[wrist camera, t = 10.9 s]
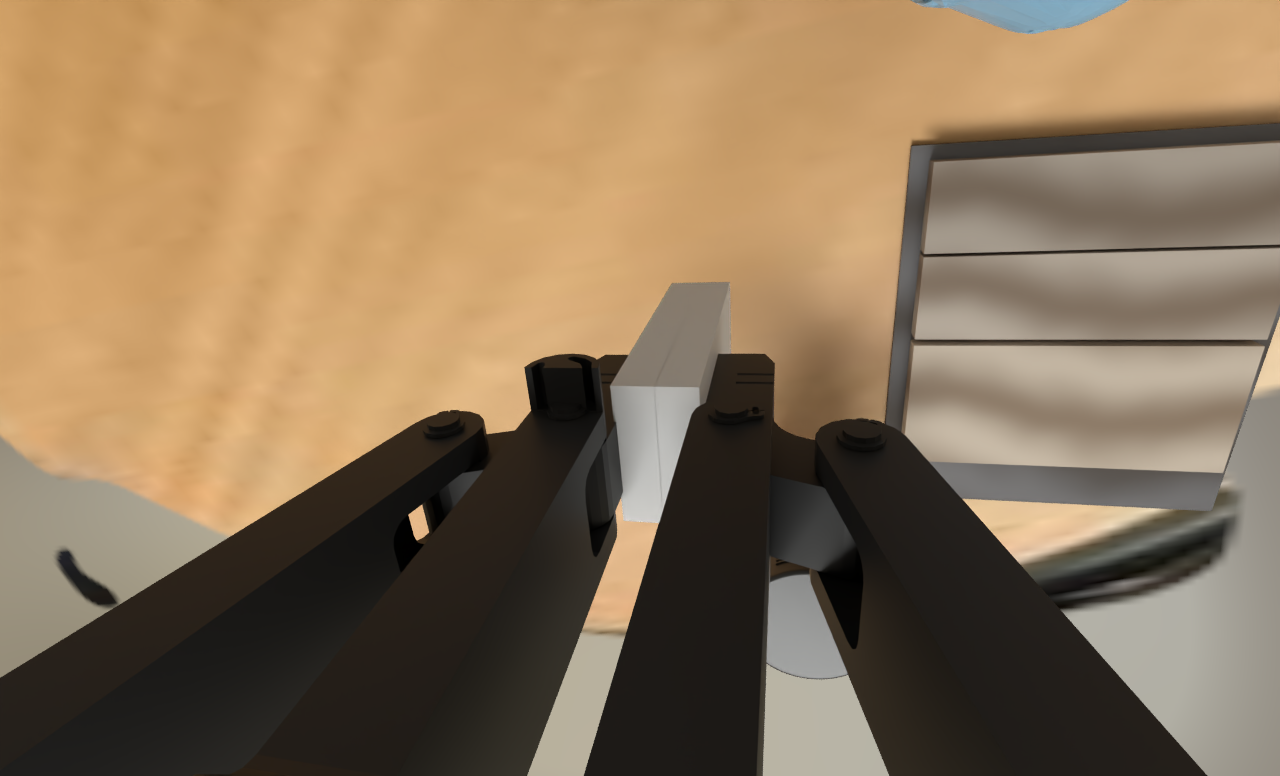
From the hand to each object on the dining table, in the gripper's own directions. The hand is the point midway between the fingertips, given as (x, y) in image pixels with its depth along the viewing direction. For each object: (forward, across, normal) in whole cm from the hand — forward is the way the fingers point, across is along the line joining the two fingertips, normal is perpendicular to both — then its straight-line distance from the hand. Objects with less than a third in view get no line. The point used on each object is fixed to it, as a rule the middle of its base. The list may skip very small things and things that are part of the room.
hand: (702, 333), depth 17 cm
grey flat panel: (+24, +19, -9) cm, 32 cm away
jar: (+25, +4, -22) cm, 33 cm away
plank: (+24, +19, -13) cm, 33 cm away
